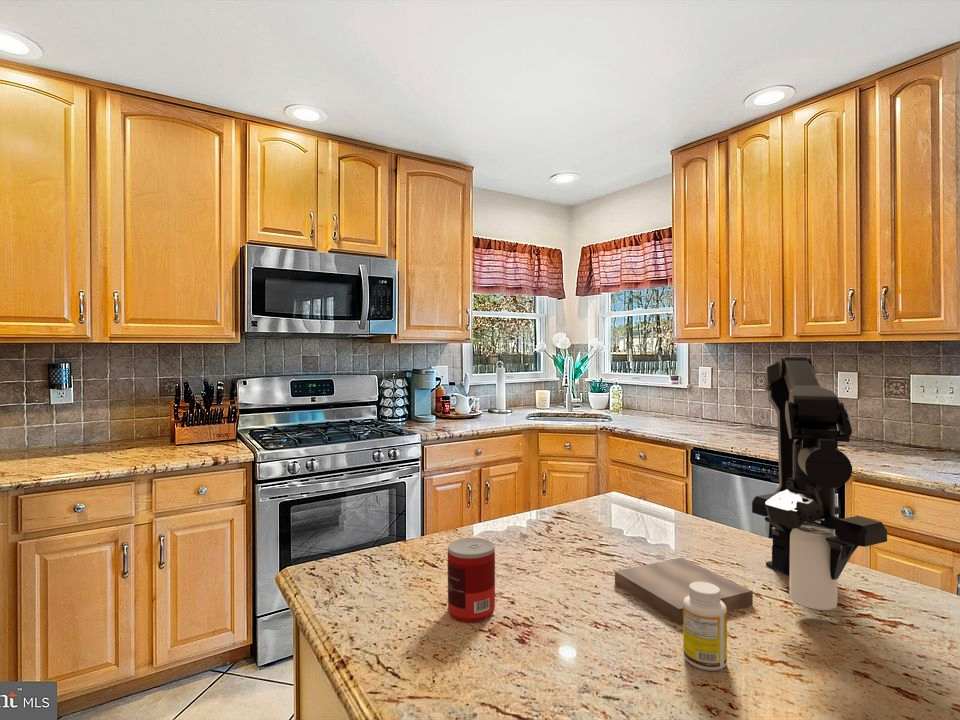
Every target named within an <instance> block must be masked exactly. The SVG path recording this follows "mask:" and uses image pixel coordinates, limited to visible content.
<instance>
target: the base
mask: <svg viewBox="0 0 960 720" xmlns="http://www.w3.org/2000/svg"><path fill="white" fill-rule="evenodd" d="M693 582H707V583H711V584H714V585H716V586H717V587H718V588H719V589H720V596H721V599H720V600H721V601H722V602H723V603H724V604H725V605H726V608H727V613H729V612H733V611H737V610H740V609H745V608H748V607H752V606H753V604H754V603H753V600H754V599H753V598H754V595H753V594H754V592H753V590H752V589H750V588H748V587H745V586H743V585H741V584H739V583H737V582H735V581H733V580H730V579H728V578H727V577H724V576H722V575H721V574H719V573H716V572H713V571H711V570H709V569H707V568H705V567H703V566H701V565H698V564H696V563H694V562H692V561H690V560H688V559H686V558H684V557H678V558H674V559H669V560H664V561H659V562H654V563H649V564H645V565H644V564H643V565H639V566H633V567H630V568H625V569H624V568H623V569H618V570H615V571H614V586H617V587H618V588H620V589H621V590H622V591H624V592H626V593H627V594H629V595H631V596H632V597H634V598H635V599H637V600H638V601H640V602H642V603H643V604H645V605H647V606H648V607H650V608H652V609H653V610H655V612H658V613H660V614H661V615H662V616H664V617H666V618H667V619H669V620H671V621H672V622H674V623H675V624H677V625H679V626H680V625H683V601H684V599H685V597H687V596H688V595H689V585H690V584H691V583H693Z"/></svg>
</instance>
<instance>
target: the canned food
mask: <svg viewBox="0 0 960 720" xmlns="http://www.w3.org/2000/svg"><path fill="white" fill-rule="evenodd" d="M495 609H496V549H495V543H494V542H492V541H491V540H489V539H486V538H482V537H465V538H460V539H457V540H453V541H451V542H450V543H449V544H448V546H447V610H448V613H449V616H450V617H451V618H452V619H453V620H455V621H457V622H460V623H466V624H472V623H473V624H475V623H480V622H484V621H487V620H488V619H490V618H491V617H492V616H493V614H494V611H495Z"/></svg>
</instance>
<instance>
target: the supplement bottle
mask: <svg viewBox="0 0 960 720" xmlns="http://www.w3.org/2000/svg"><path fill="white" fill-rule="evenodd" d="M720 599H721V596H720V589H719V588H718V587H717V586H716V585H714V584H711V583H707V582H693V583H691V584H690V585H689V595H688V596H687V597H685V599H684V601H683V624H682V628H683V629H682V631H683V632H682V633H683V635H682V636H683V639H682V640H683V641H682V642H683V645H682V646H683V656H684V659H685V660H686V661H687V662H688V663H689V664H690V665H691V666H693V667H695V668H697V669H700V670H704V671H709V672H711V671H713V672H714V671H720V670H722V669H724V668H725V667H726V665H727V663H728V651H727V650H728V645H727V644H728V643H727V642H728V641H727V639H728V631H727V630H728V625H727V624H728V622H727V621H728V617H727V614H728V612H727V608H726V605H725V604H724V603H723V602H722V601H721V600H720Z"/></svg>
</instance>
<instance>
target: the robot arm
mask: <svg viewBox="0 0 960 720" xmlns="http://www.w3.org/2000/svg"><path fill="white" fill-rule="evenodd" d="M812 364H813V362H812V358H811V357H808V356H804V355H802V356H797V355H793V356H792V355H789V356H787V355H786V356H785V355H784V356H783V357H780V358H779V359H778V362H775V363H773V364H771V365H769V366H768V367H766V370H765V373H764V379H763V380H764V382H763V383H764V384H763V385H764V391H765V392H767V399H768V402H769V403H770V404H771V406H772V407H773V409H774V410H775V411H776V414H777V417H776V418H777V446H778V447H777V449H778V451H777V452H778V453H777V454H778V482H779V483H778V487H777V488H776V490H775V491H774V493H767V494H760V495H755V497H754V498H753V499H752V501H751V513H752V514H756V515H759V516H762V517H764V519H763V520H764V522H765V533H766V535H767V537H768V539H772V545H771V560H769V561H765V566H766V567H769V568H773V569H775V570H777V571H779V572H782V573H784V574H787V575H789V576H790V533H791V531H792V529H795V528H799V527H800V526H801V525H802V523H804V522H807V523H810V524H811V523H814V524H818V525H821V526H824V527H828V528H831V529H834V535H835V536H832V537H828V538H825V539H826V541H827V542H828V544H829V545H830V574H831V579H833V580H836V579H837V580H838V579H839V578H840V576H841V574H842V572H843V570H844V568H845V567H846V565H847V564H848V562H849V560H850V559H851V557H852V555H853V554H854V552H855V551H856V550H857V548H858V547H865V548H866V547H870V546H873V545H878V544H881V543H886V542H888V530H887V528H886V526H885V525H884V523H883V521H880V520H876V519H871V518H867V517H864V516H860V515H856V516H855V515H854V516H849V517H844V518H841V517H838V516H836V515H840V514H841V506H837V505H836V489H840V488H841V487H842V486H844V485H845V484H847V482H849V480H850V478H851V477H852V474H853V465H852V463H851V460H850V459H849V458H848V456H847V455H846V454H845V453H844V452H842V451H841V450H839V448H838V443H840V442H842V443H850V441H851V440H850V438H851V436H852V432H853V428H852V424H851V420H850V417H849V413H848V410H847V409H846V407H845V404H844V403H843V402H841V401H840V400H839V397H838V396H837V394H836V393H835V392H834V391H832V390H830V389H827V388H824V387H821V384H820V382H819V381H818V378H817V376H816V368H815V366H814V365H812Z"/></svg>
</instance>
